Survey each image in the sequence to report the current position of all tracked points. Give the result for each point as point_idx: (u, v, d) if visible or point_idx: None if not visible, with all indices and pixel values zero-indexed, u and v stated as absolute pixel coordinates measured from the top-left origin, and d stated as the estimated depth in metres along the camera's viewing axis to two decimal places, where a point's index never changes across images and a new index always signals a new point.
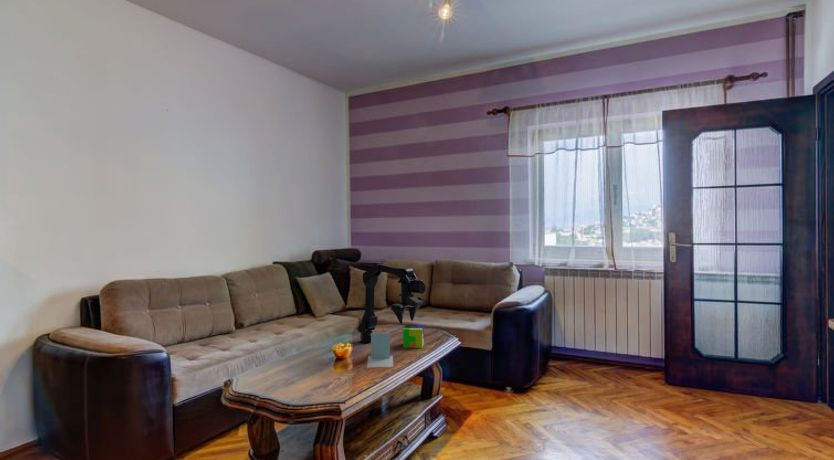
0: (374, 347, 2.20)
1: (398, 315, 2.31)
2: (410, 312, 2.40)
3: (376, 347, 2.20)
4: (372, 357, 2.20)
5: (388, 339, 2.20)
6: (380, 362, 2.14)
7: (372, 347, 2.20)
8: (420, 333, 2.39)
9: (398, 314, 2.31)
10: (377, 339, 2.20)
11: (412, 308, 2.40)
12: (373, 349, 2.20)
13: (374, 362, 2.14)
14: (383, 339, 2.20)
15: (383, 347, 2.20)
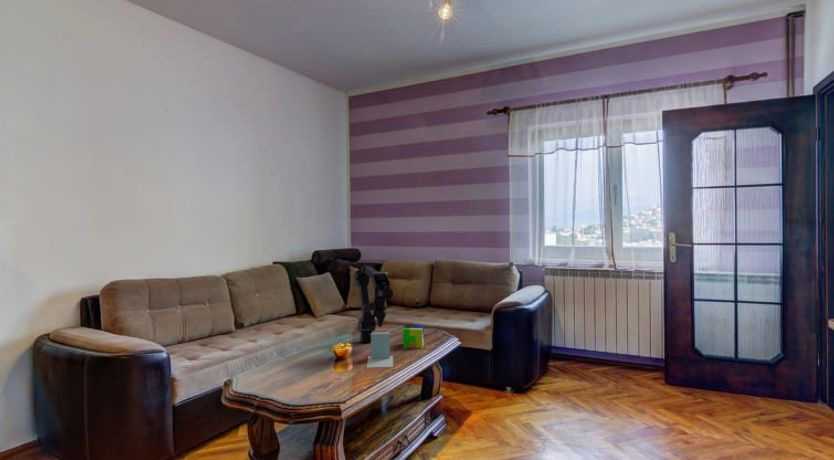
0: (374, 347, 2.20)
1: None
2: None
3: (376, 347, 2.20)
4: (372, 357, 2.20)
5: (388, 339, 2.20)
6: (380, 362, 2.14)
7: (372, 347, 2.20)
8: (420, 333, 2.39)
9: None
10: (377, 339, 2.20)
11: None
12: (373, 349, 2.20)
13: (374, 362, 2.14)
14: (383, 339, 2.20)
15: (383, 347, 2.20)
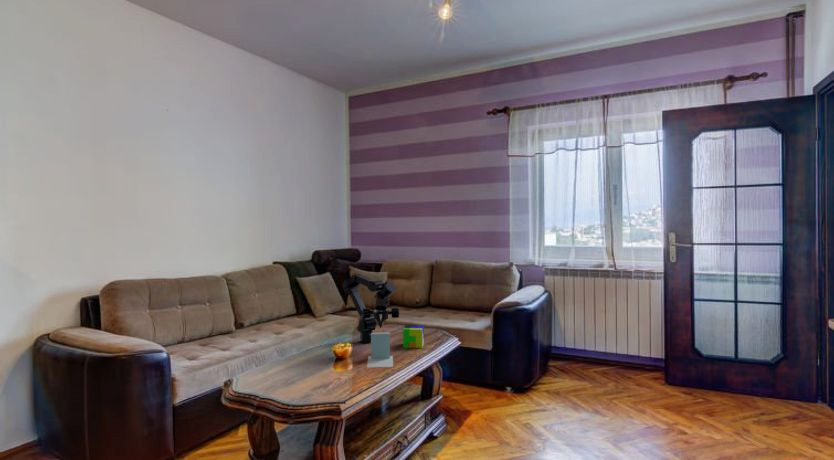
0: (374, 347, 2.20)
1: (378, 320, 2.33)
2: None
3: (376, 347, 2.20)
4: (372, 357, 2.20)
5: (388, 339, 2.20)
6: (380, 362, 2.14)
7: (372, 347, 2.20)
8: (420, 333, 2.39)
9: (378, 319, 2.33)
10: (377, 339, 2.20)
11: None
12: (373, 349, 2.20)
13: (374, 362, 2.14)
14: (383, 339, 2.20)
15: (383, 347, 2.20)
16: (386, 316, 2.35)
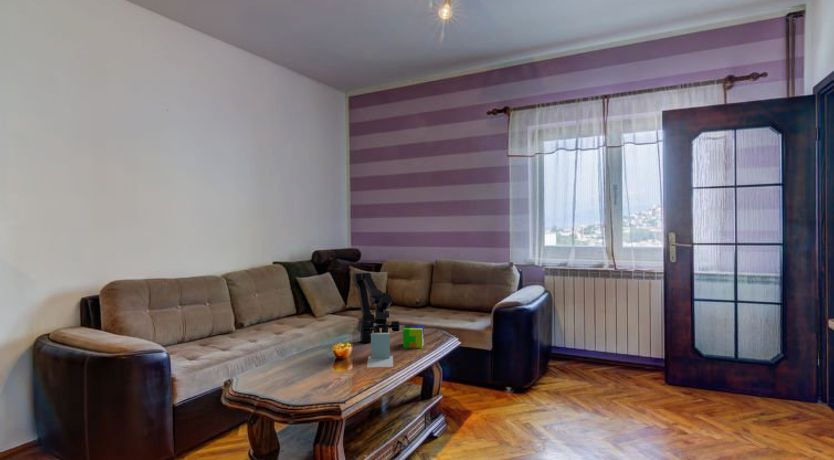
0: (374, 347, 2.20)
1: None
2: None
3: (376, 348, 2.20)
4: (372, 357, 2.20)
5: (388, 340, 2.20)
6: (380, 362, 2.14)
7: (372, 347, 2.20)
8: (420, 333, 2.39)
9: None
10: (377, 339, 2.19)
11: None
12: (373, 349, 2.20)
13: (374, 362, 2.14)
14: (383, 339, 2.20)
15: (383, 348, 2.20)
16: (386, 330, 2.27)
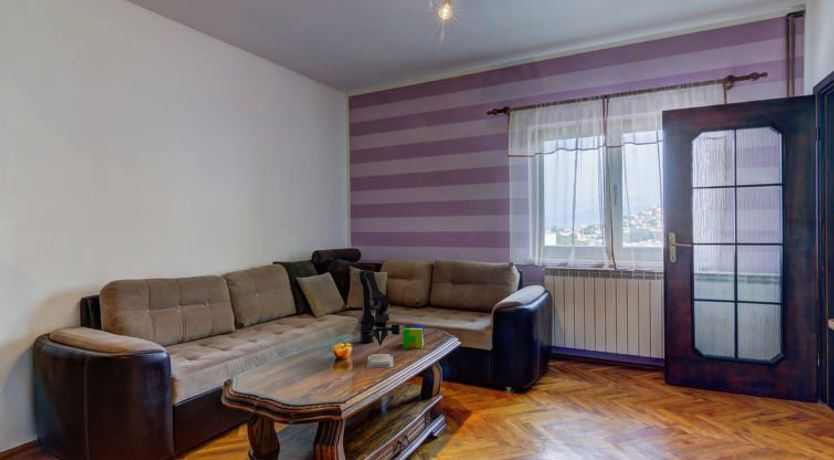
0: None
1: (377, 337, 2.19)
2: None
3: None
4: None
5: None
6: None
7: None
8: (420, 333, 2.39)
9: (377, 336, 2.19)
10: None
11: None
12: None
13: None
14: None
15: None
16: (386, 333, 2.21)
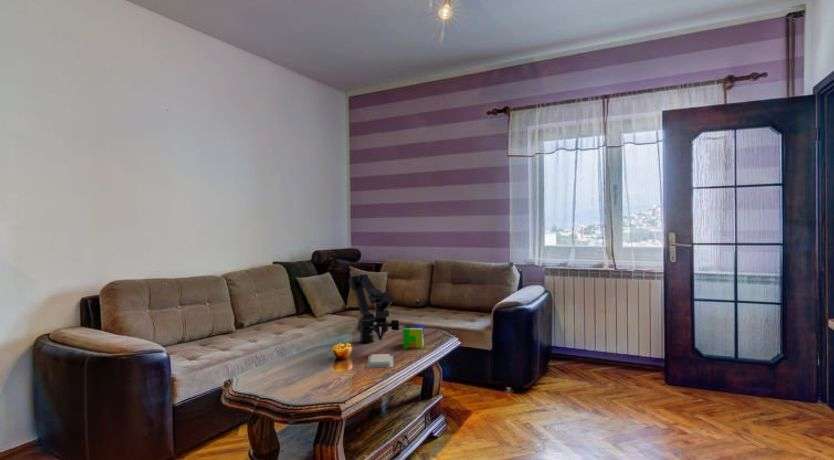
0: None
1: (377, 333, 2.29)
2: None
3: None
4: None
5: None
6: None
7: None
8: (420, 333, 2.39)
9: None
10: None
11: None
12: None
13: None
14: None
15: None
16: (386, 328, 2.31)
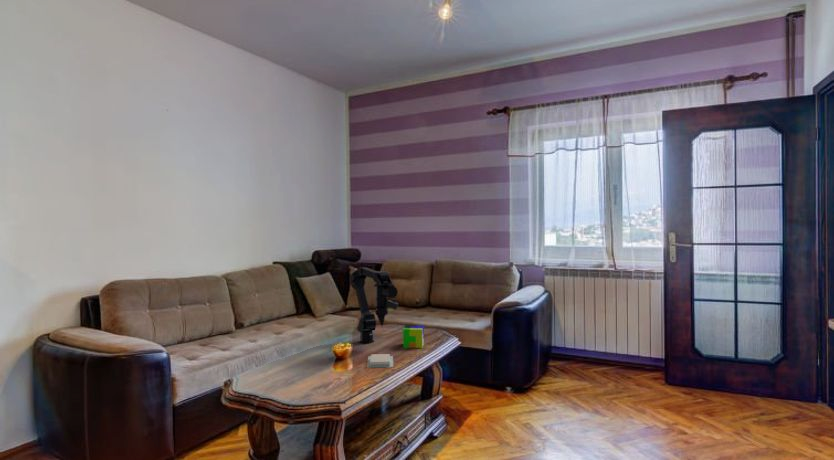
0: None
1: (380, 317, 2.39)
2: None
3: None
4: None
5: None
6: None
7: None
8: (420, 333, 2.39)
9: (380, 316, 2.39)
10: None
11: None
12: None
13: None
14: None
15: None
16: None
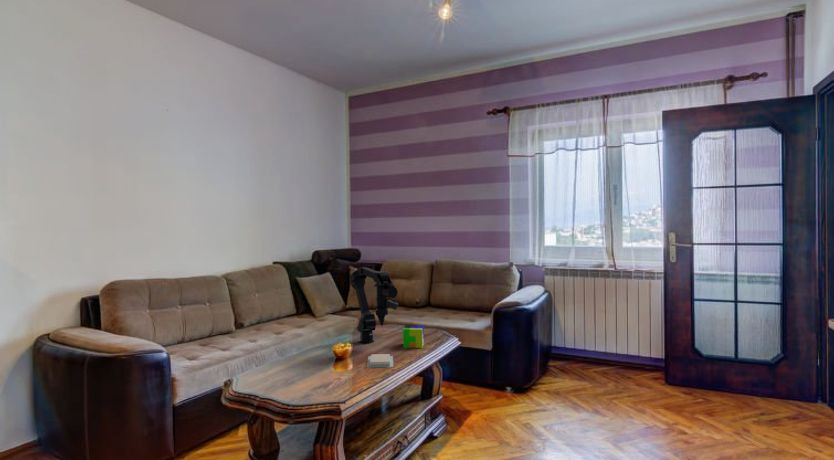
0: None
1: (380, 317, 2.39)
2: None
3: None
4: None
5: None
6: None
7: None
8: (420, 333, 2.39)
9: (380, 316, 2.39)
10: None
11: None
12: None
13: None
14: None
15: None
16: None
